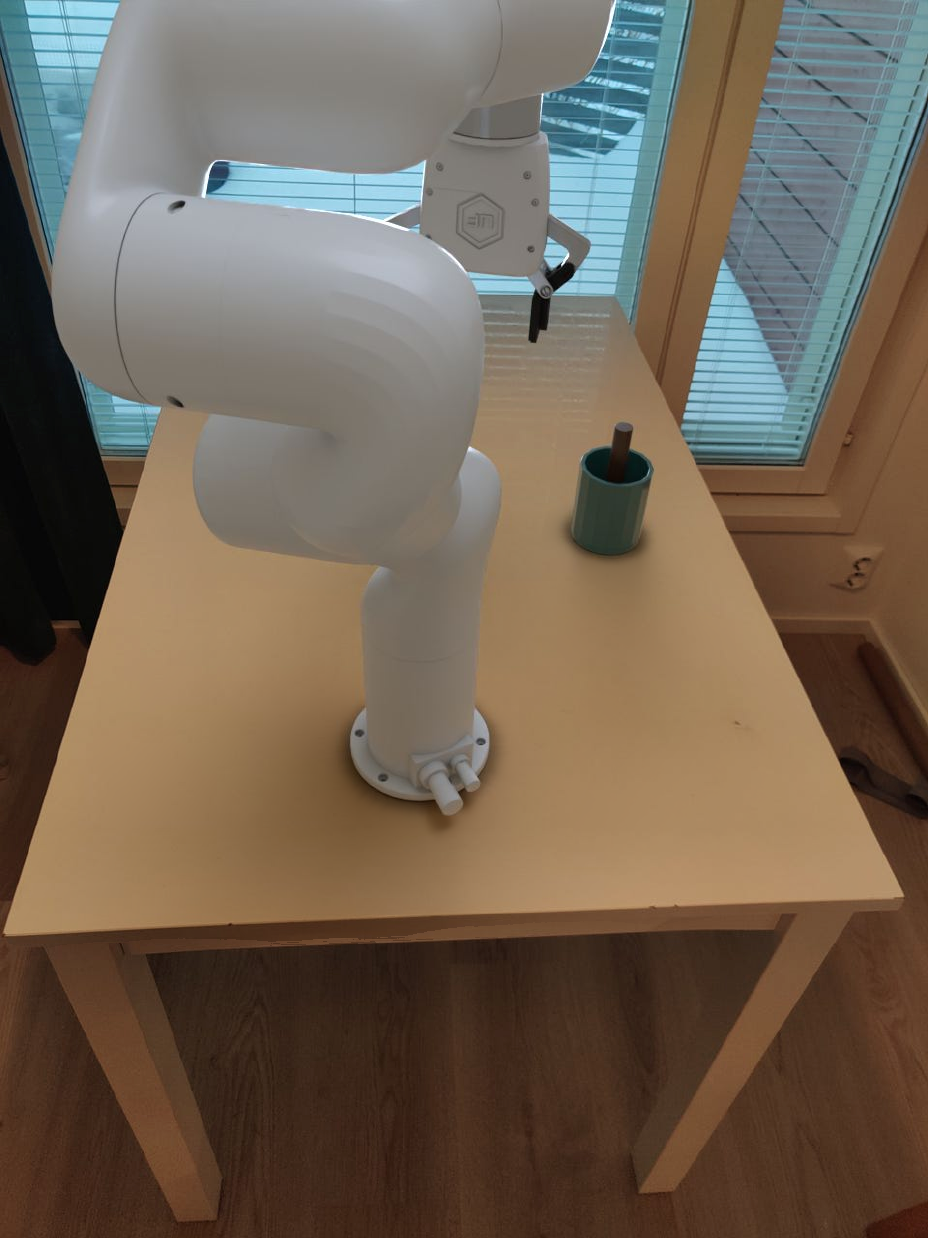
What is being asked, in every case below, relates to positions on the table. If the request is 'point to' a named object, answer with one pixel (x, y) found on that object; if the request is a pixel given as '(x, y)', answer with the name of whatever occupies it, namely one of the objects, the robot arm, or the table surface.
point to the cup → (610, 503)
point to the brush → (619, 452)
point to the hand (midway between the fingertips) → (479, 329)
